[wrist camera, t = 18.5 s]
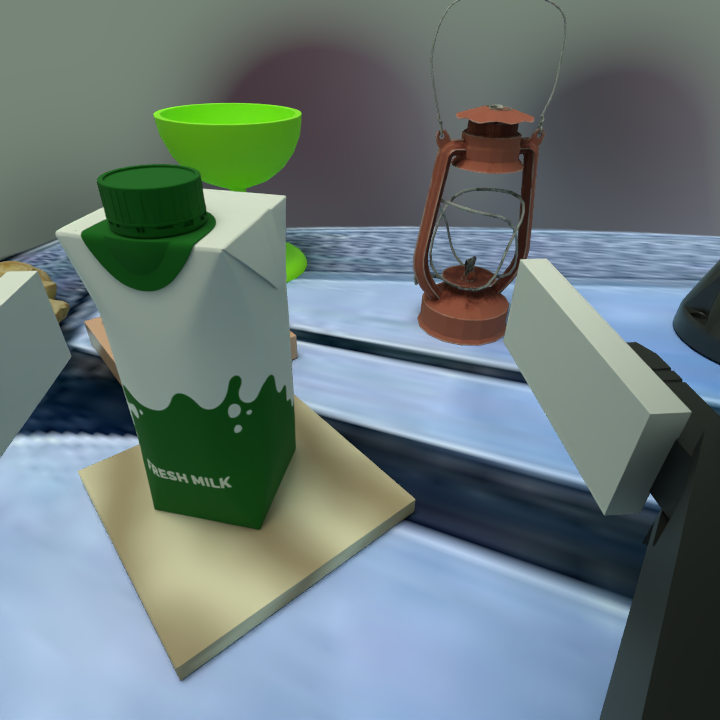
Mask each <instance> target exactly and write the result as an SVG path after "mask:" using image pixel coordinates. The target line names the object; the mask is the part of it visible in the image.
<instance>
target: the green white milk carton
mask: <svg viewBox="0 0 720 720" xmlns="http://www.w3.org/2000/svg"><path fill="white" fill-rule="evenodd" d="M97 184H98V188H99V192H100V196H101V200H102V204H103V208H101V209H99V210H97V211H95V212H93V213H91V214H89V215H86V216H85V217H82V218H80V219H79V220H76V221H74V222H72V223H70V224H68V225H66V226H64V227H62V228H61V229H59V230H57V231H56V237H57V238H58V240H59V242H60V244H61V245H62V247H63V249H64V251H65V252H66V254H67V256H68V257H69V259H70V261H71V263H72V264H73V266H74V268H75V270H76V271H77V273H78V275H79V276H80V278H81V280H82V282H83V283H84V285H85V287H86V289H87V290H88V292H89V294H90V296H91V297H92V299H93V301H94V303H95V304H96V306H97V309H98V311H99V313H100V316H101V319H102V322H103V325H104V328H105V331H106V335H107V338H108V341H109V344H110V348H111V351H112V354H113V357H114V361H115V364H116V367H117V370H118V374H119V377H120V380H121V383H122V387H123V390H124V393H125V396H126V400H127V403H128V406H129V409H130V413H131V416H132V419H133V422H134V426H135V429H136V432H137V436H138V439H139V444H140V448H141V453H142V457H143V461H144V466H145V470H146V474H147V478H148V483H149V487H150V491H151V496H152V500H153V505H154V509H155V510H161V511H166V512H171V513H176V514H181V515H186V516H192V517H197V518H202V519H207V520H212V521H217V522H222V523H227V524H233V525H238V526H243V527H248V528H253V529H258V530H260V528H261V526H262V524H263V522H264V519H265V517H266V515H267V513H268V510H269V508H270V506H271V504H272V501H273V499H274V497H275V495H276V492H277V490H278V488H279V486H280V483H281V481H282V479H283V477H284V474H285V472H286V470H287V468H288V465H289V463H290V461H291V459H292V456H293V454H294V452H295V450H296V436H295V411H294V390H293V375H292V359H291V344H290V328H289V313H288V300H287V288H286V279H287V275H286V196H282V195H270V194H258V193H247V192H235V191H222V190H210V189H203V187H202V181H201V175H200V172H199V171H198V170H196V169H194V168H191V167H187V166H181V165H169V164H152V165H138V166H130V167H125V168H119V169H115V170H112V171H109V172H106V173H104V174H102V175H100V176H99V177H98V179H97Z"/></svg>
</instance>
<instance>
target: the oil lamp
mask: <svg viewBox="0 0 720 720" xmlns="http://www.w3.org/2000/svg"><path fill="white" fill-rule="evenodd" d="M9 271H38V273H39V275H40V278H41V280H42V283H43V285H44V288H45V291H46V293H47V296H48V298H49V301H50V303H51V306H52V308H53V311H54V313H55V316H56V319H57V321H58V324H59V323H60V321H62V320H63V319H64V318H65V317H66V316H67V313H68V311H69V305H68V303H66V302H63V301H59V300H54V299H55V296H56V291H57V286H56V284H55V283H54V282H52V280H51V278H50V277H49V275H48V274H47V273H45V272H44V271H42V270H41V269H38V268H35V267H33V266H31V265H30V264H26V263H22V262H17V261H7V262H0V278H1V277H2V276H3V275H4V274H5V273H6V272H9Z"/></svg>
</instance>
